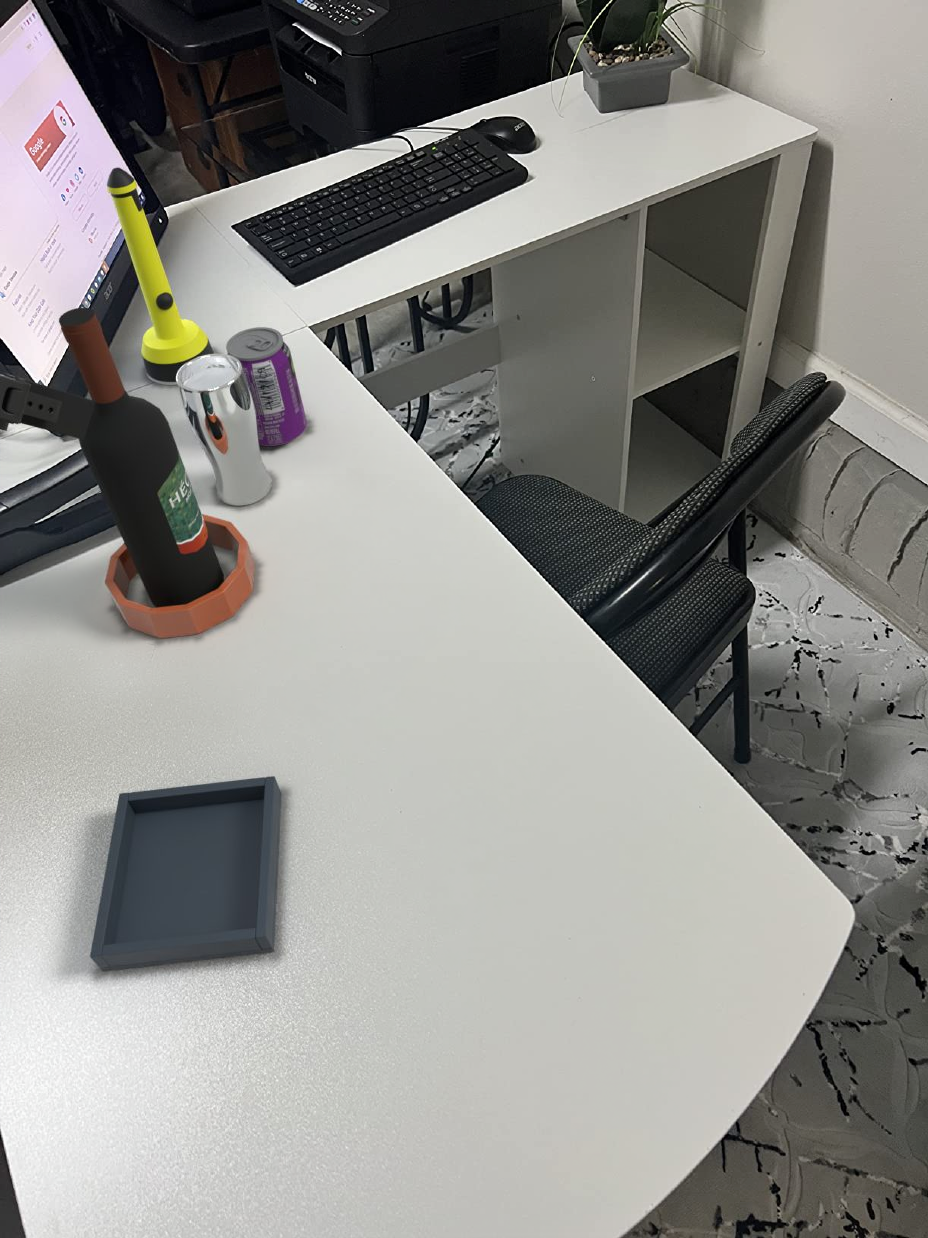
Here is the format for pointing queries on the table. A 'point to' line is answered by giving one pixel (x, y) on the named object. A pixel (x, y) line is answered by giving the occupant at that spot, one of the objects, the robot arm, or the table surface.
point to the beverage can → (270, 384)
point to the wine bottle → (141, 476)
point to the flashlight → (155, 290)
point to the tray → (190, 875)
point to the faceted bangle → (197, 612)
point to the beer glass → (225, 426)
